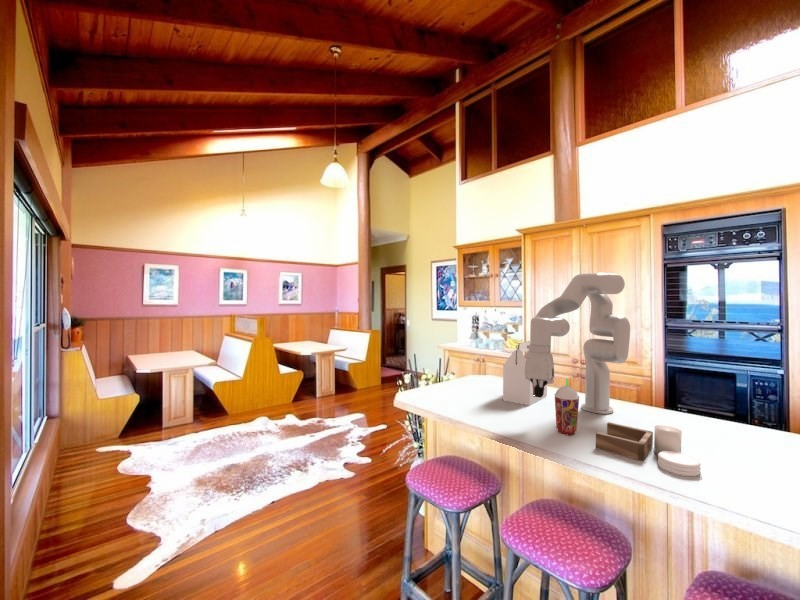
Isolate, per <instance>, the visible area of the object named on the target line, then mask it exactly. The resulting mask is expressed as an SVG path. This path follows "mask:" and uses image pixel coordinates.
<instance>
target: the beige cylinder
mask: <svg viewBox="0 0 800 600" xmlns="http://www.w3.org/2000/svg"><path fill="white" fill-rule="evenodd" d="M682 433H683V432H682V430H681V429H679V428H676V427H674V426H669V425H662V424H661V425H660V424H659V425H655V426H654V433H653V439H654V440H653V445H654V446H653V452H654V453H655V454H657V455H658V454H659V453H660V452H662V451H674V452H679V453H682Z"/></svg>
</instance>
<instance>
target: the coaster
mask: <svg viewBox="0 0 800 600" xmlns="http://www.w3.org/2000/svg"><path fill="white" fill-rule="evenodd" d="M657 464H658V466H659V467H660V468H661V469H663V470H664V471H666V472H668V473H671V474H675V475H678V476H682V477H689V476H694V477H697V476H696V475H698V476H700V475H699V474H701V462H700V461H699V459H697V458H695V457H693V456H692V455H690V454H686V453H683V452H681V453H679V452H674V451H662V452H660V453H659V454H657Z"/></svg>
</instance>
